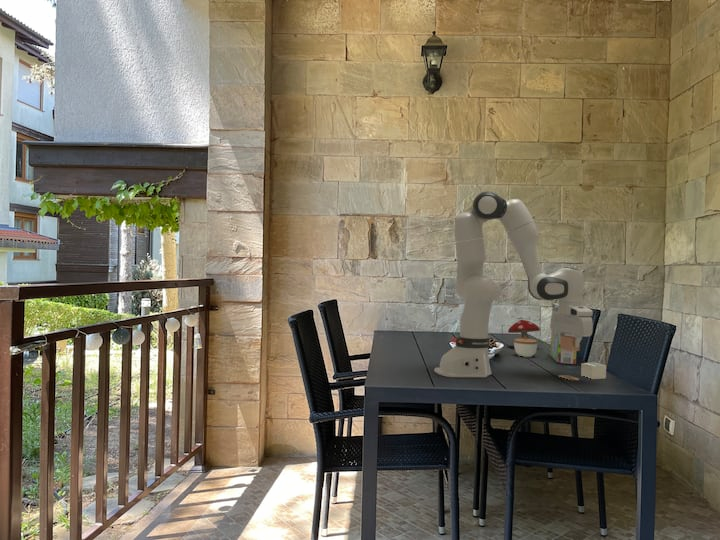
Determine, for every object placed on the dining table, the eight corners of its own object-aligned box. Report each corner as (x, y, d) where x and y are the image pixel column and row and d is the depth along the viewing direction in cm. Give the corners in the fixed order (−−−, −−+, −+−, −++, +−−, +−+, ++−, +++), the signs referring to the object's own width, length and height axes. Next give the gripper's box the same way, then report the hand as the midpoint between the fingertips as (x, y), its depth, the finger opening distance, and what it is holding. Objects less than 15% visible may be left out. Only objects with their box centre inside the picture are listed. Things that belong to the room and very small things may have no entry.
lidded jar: (539, 356, 248) (540, 336, 248) (533, 359, 239) (534, 339, 239) (517, 353, 254) (517, 334, 254) (510, 356, 245) (511, 336, 245)
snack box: (578, 365, 227) (579, 306, 227) (557, 364, 229) (558, 306, 228) (568, 356, 248) (569, 303, 248) (549, 355, 250) (550, 302, 250)
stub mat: (569, 380, 195) (569, 379, 195) (557, 376, 202) (557, 375, 202) (579, 380, 196) (579, 379, 196) (567, 376, 203) (567, 375, 203)
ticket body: (591, 379, 199) (592, 365, 198) (581, 375, 204) (581, 362, 204) (605, 378, 200) (606, 365, 200) (594, 375, 206) (595, 362, 206)
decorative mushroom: (505, 349, 266) (506, 320, 266) (509, 345, 281) (510, 317, 281) (538, 351, 260) (539, 322, 260) (540, 347, 275) (541, 319, 274)
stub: (570, 351, 196) (570, 338, 195) (560, 348, 201) (560, 335, 201) (579, 350, 197) (579, 337, 197) (569, 348, 202) (569, 335, 202)
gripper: (546, 307, 208) (546, 341, 208) (581, 311, 188) (580, 349, 188) (560, 307, 210) (559, 340, 210) (596, 311, 190) (595, 349, 190)
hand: (569, 345), depth 199 cm, fingers closed on stub, 6 cm apart
